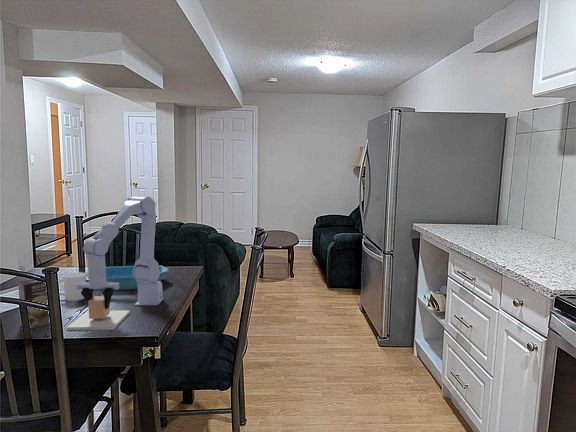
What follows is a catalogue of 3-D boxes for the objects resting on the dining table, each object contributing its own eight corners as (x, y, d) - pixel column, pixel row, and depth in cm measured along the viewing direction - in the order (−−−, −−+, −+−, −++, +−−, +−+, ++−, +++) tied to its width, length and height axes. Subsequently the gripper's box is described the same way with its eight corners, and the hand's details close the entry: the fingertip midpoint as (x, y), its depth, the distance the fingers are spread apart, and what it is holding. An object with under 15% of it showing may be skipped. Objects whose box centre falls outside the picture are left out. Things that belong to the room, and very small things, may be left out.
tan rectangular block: (109, 313, 152) (108, 296, 151) (103, 318, 147) (102, 300, 146) (95, 313, 152) (94, 296, 151) (89, 318, 147) (88, 300, 146)
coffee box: (27, 330, 142) (23, 285, 140) (20, 325, 146) (16, 281, 144) (55, 322, 149) (52, 279, 147) (48, 318, 153) (45, 276, 151)
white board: (129, 312, 158) (129, 297, 157) (113, 329, 142) (112, 312, 141) (87, 313, 157) (86, 298, 157) (66, 330, 142) (65, 313, 141)
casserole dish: (169, 276, 210) (169, 262, 209) (166, 289, 189) (166, 274, 188) (92, 280, 202) (91, 266, 202) (79, 294, 181) (78, 279, 180)
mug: (52, 302, 170) (50, 278, 168) (59, 296, 178) (57, 273, 176) (83, 300, 172) (82, 276, 171) (89, 294, 180) (87, 271, 179)
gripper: (71, 274, 143) (73, 312, 145) (113, 274, 144) (115, 311, 145) (80, 269, 150) (82, 305, 152) (120, 269, 151) (122, 305, 152)
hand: (99, 308), depth 149 cm, fingers closed on tan rectangular block, 5 cm apart
